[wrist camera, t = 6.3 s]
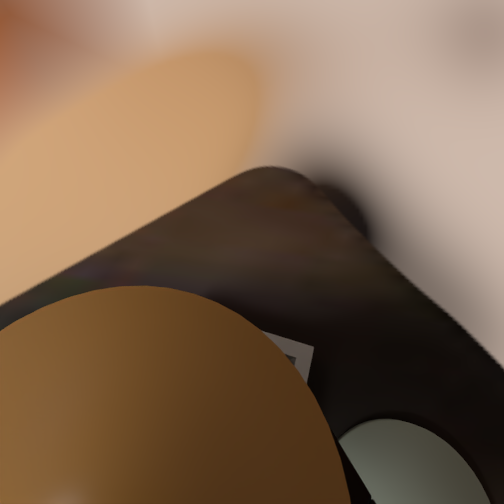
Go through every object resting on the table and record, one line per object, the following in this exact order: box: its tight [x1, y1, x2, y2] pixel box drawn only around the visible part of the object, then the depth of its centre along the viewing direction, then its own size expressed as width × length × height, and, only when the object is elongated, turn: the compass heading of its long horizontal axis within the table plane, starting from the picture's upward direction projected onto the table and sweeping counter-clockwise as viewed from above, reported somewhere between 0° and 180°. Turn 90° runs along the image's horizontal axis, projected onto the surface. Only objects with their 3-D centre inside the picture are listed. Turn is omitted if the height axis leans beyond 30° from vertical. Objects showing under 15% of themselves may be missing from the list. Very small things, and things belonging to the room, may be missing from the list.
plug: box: [0, 286, 351, 504], centre depth 9 cm, size 6×6×12 cm
